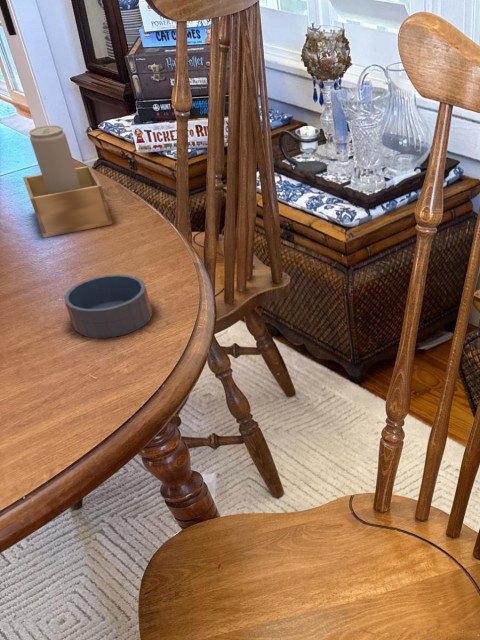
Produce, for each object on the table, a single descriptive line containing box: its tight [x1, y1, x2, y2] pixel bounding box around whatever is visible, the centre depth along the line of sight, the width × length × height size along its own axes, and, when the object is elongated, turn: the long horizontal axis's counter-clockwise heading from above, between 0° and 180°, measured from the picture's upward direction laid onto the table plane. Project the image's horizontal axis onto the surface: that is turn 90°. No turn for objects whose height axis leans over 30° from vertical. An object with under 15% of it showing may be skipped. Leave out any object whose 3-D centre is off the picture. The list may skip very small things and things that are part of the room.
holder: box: [22, 165, 113, 238], centre depth 117 cm, size 10×10×6 cm
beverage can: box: [28, 124, 81, 194], centre depth 115 cm, size 5×5×12 cm
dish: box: [63, 274, 153, 339], centre depth 94 cm, size 9×9×4 cm
